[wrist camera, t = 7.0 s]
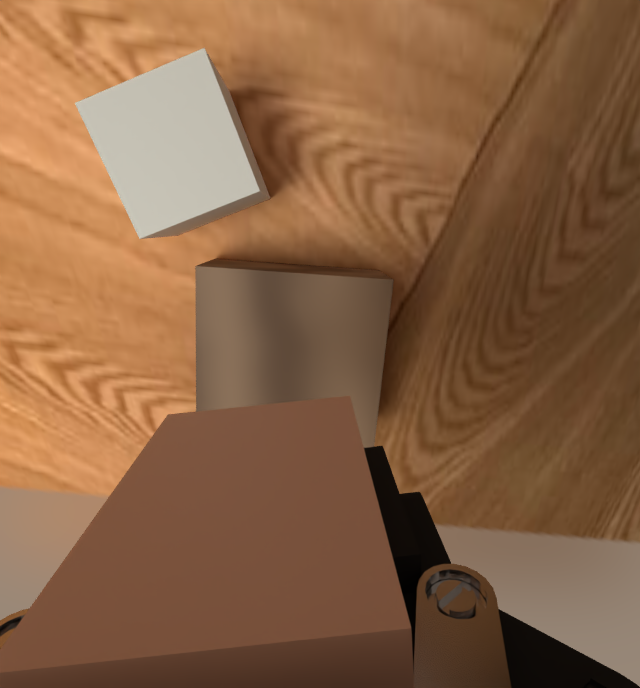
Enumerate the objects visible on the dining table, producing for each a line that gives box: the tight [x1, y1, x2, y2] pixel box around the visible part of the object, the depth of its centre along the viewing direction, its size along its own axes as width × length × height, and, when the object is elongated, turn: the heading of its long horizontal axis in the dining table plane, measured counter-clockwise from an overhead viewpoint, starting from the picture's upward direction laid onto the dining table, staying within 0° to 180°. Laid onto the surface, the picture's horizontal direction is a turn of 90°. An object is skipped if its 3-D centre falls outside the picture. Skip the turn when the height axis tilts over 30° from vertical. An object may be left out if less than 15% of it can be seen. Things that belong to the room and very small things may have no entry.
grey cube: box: [75, 48, 271, 239], centre depth 22 cm, size 6×6×6 cm
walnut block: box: [196, 259, 394, 448], centre depth 25 cm, size 10×10×5 cm
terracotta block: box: [0, 396, 414, 688], centre depth 9 cm, size 5×5×7 cm
